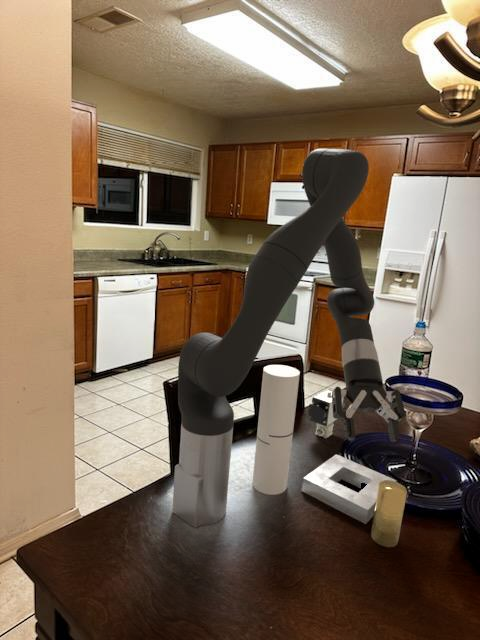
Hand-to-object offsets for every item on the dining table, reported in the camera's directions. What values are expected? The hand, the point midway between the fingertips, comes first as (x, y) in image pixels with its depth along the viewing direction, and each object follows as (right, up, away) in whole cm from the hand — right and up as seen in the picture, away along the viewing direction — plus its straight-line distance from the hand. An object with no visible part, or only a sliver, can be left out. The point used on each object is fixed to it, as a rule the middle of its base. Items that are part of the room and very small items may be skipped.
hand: (373, 440), depth 85 cm
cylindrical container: (-20, -11, +6) cm, 24 cm away
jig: (-3, -12, +6) cm, 14 cm away
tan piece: (0, -15, -7) cm, 17 cm away
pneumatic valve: (-4, -7, +31) cm, 32 cm away
